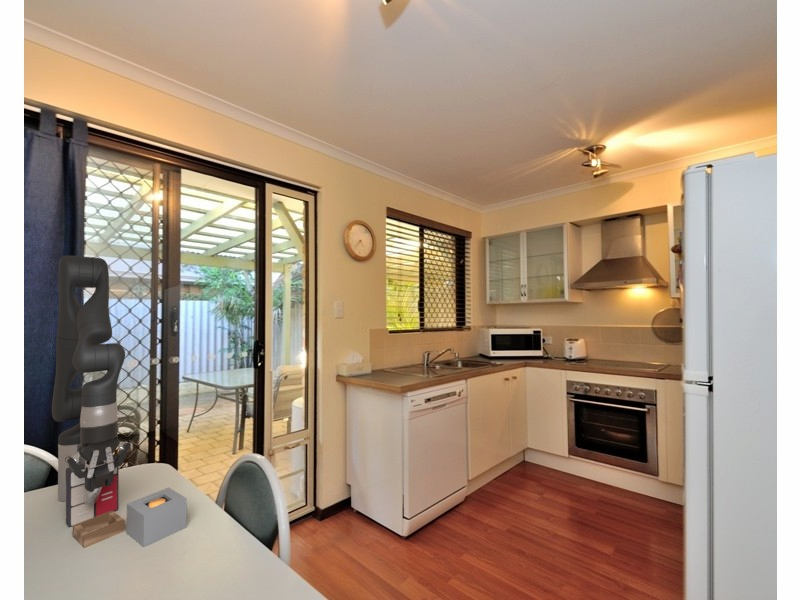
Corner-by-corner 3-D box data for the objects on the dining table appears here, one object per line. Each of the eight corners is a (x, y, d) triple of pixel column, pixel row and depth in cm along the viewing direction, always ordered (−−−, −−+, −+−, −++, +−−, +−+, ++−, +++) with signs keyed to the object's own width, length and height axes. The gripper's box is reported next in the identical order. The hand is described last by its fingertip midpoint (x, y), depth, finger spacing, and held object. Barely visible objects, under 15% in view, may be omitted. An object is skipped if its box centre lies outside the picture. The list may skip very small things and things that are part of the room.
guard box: (126, 534, 96) (126, 503, 96) (168, 516, 104) (168, 487, 104) (143, 549, 90) (143, 515, 90) (186, 528, 98) (186, 497, 98)
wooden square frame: (72, 537, 95) (72, 525, 95) (112, 521, 102) (112, 510, 102) (84, 549, 90) (84, 537, 90) (124, 531, 97) (124, 520, 97)
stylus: (82, 498, 99) (92, 468, 95) (96, 493, 101) (106, 463, 97) (85, 507, 97) (95, 477, 93) (99, 502, 100) (110, 472, 96)
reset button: (146, 522, 97) (146, 502, 97) (161, 515, 100) (161, 496, 100) (152, 526, 95) (152, 507, 95) (167, 519, 98) (167, 500, 98)
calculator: (68, 529, 98) (69, 472, 98) (65, 523, 101) (65, 468, 101) (119, 511, 107) (119, 458, 107) (114, 506, 109) (115, 454, 109)
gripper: (125, 412, 104) (125, 474, 104) (59, 426, 92) (58, 495, 92) (136, 416, 100) (136, 481, 100) (69, 431, 88) (68, 504, 88)
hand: (99, 487), depth 96 cm, fingers closed on stylus, 3 cm apart
